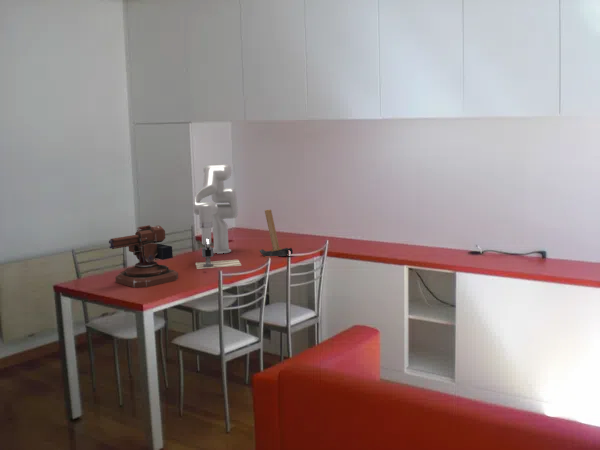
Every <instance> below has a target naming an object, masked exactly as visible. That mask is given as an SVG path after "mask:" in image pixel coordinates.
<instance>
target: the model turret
mask: <svg viewBox="0 0 600 450" xmlns="http://www.w3.org/2000/svg"><path fill="white" fill-rule="evenodd" d="M165 239H166V231H165V229H164V228H163V227H162V226H161V225H154V226H151V225H142V226H137V227H136V232H135V233H134V234H131V235H126V236H120V237H114V238H110V239H109V240H108V243H109V244H110V246H109V249H111V250H115V249H121V248H122V249H123V248H128V252H131V253H132V254H133V256H135V257H136V259H137V260H138V261H139V262H136V263H135V264H134V266H131V267H127V268H125V270H123V271H120V273H118V274H117V275H116V276H115V283H116V282H117V284H119V285H123V284H124V286H128V287H131V288H149V287H154V286H158V285H162V284H163V285H164V284H166V283H171V282H176V281H178V279H179V273H178V272H177V271H176V270H174V269H171V268H169V266H167V265H165V264H158V262H157V261H155V259H157V260H162V261H164V260H169V259H173V258H174V257H173V254H174V253H173V246H172V245H167V244H162V242H164V241H165Z"/></svg>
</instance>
